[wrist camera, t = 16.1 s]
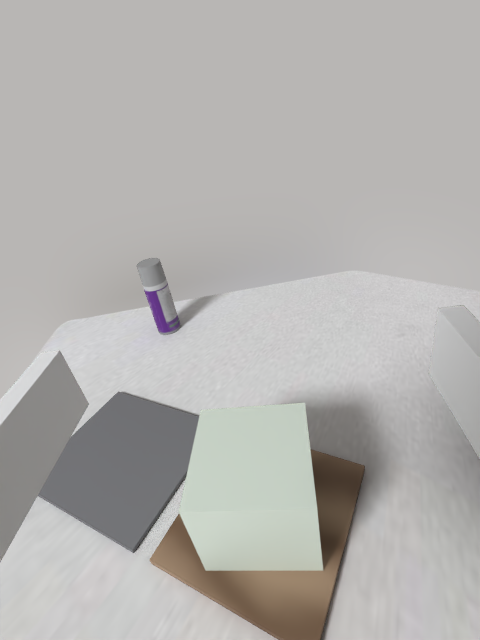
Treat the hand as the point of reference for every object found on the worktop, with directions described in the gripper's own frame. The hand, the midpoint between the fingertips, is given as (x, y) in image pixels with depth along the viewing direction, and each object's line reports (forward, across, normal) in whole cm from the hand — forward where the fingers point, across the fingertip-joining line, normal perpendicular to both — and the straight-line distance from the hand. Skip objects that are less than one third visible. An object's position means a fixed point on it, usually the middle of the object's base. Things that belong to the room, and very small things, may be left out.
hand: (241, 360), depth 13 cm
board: (+11, -3, -30) cm, 32 cm away
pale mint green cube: (+11, -3, -29) cm, 31 cm away
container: (+52, -23, -30) cm, 64 cm away
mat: (+20, -22, -30) cm, 42 cm away
